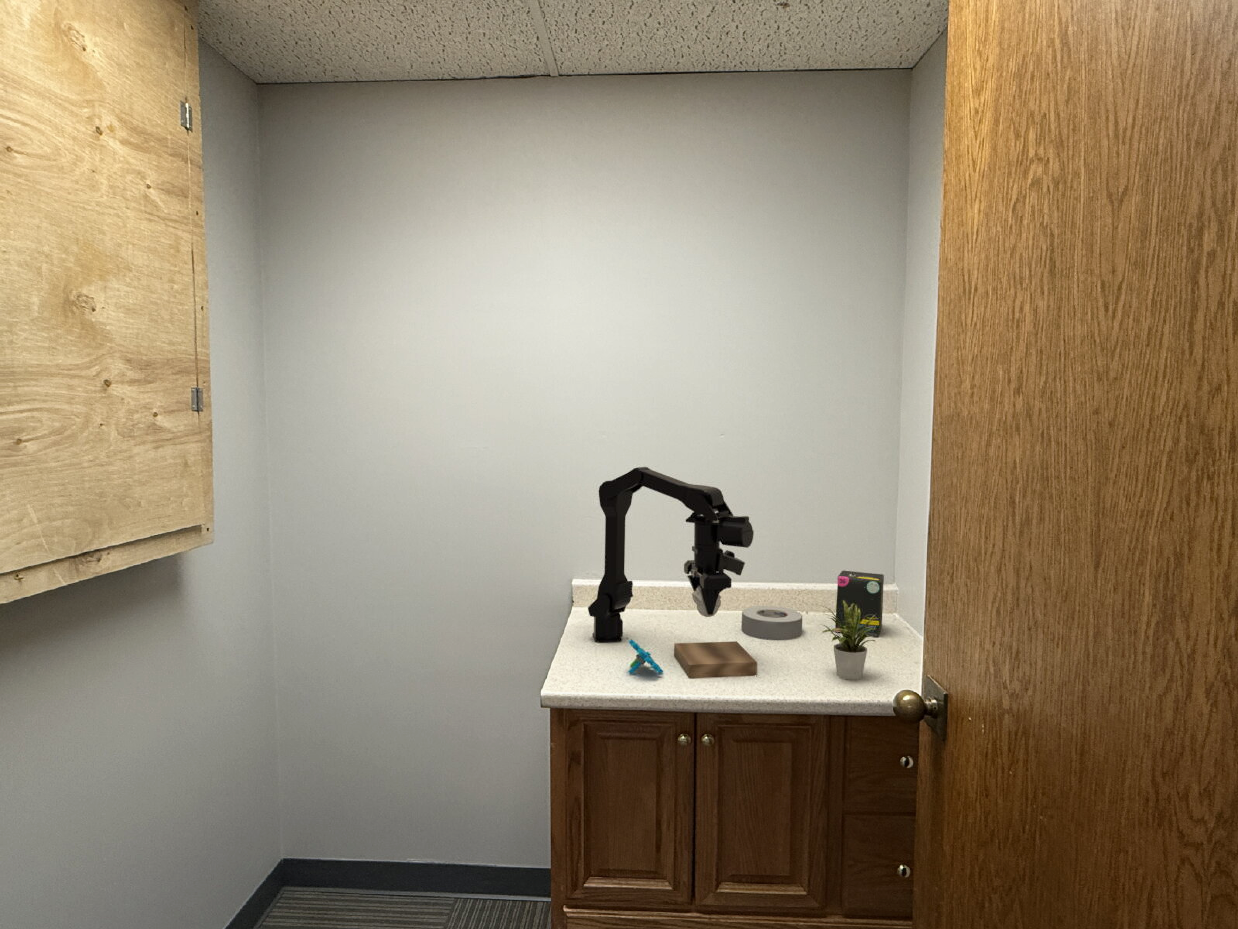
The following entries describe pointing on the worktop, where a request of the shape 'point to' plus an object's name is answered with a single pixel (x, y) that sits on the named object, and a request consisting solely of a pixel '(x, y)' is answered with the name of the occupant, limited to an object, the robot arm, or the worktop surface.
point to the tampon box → (861, 599)
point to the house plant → (849, 644)
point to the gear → (642, 659)
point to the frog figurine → (700, 603)
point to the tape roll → (771, 623)
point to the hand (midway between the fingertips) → (706, 611)
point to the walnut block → (714, 659)
